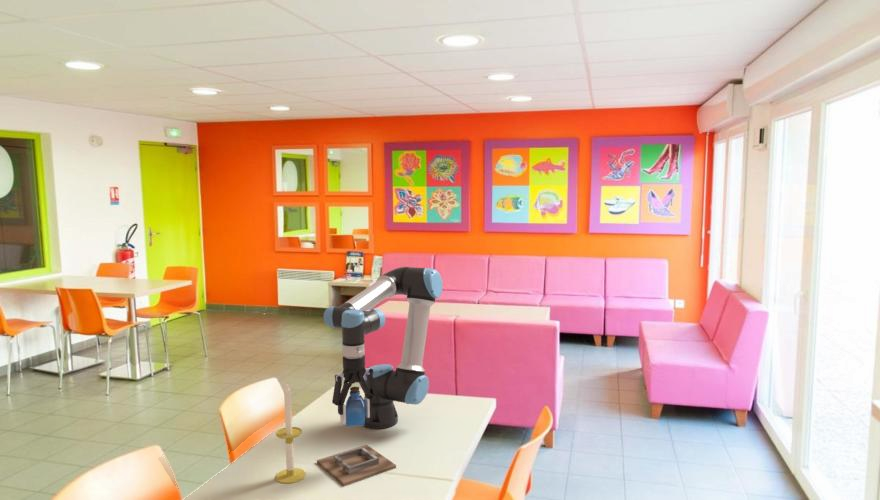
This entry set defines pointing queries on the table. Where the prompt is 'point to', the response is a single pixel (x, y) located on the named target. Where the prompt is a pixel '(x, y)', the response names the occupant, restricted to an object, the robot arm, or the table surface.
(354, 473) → the pocket board
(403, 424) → the table surface
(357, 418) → the perfume bottle
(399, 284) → the robot arm
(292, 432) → the candle
